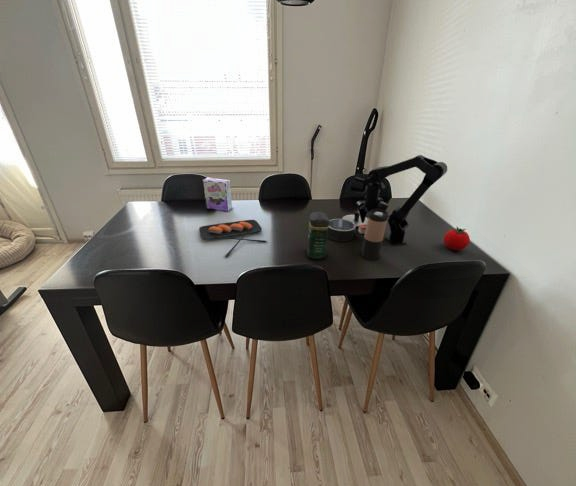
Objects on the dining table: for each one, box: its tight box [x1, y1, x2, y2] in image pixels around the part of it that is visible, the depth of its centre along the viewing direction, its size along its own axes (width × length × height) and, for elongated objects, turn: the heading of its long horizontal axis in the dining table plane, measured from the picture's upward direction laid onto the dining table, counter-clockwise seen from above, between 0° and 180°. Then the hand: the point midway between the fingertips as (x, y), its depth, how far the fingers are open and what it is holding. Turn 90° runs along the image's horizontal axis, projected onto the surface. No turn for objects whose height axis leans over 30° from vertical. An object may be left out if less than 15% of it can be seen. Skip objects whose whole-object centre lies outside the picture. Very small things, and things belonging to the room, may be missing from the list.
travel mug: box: [361, 209, 389, 260], centre depth 122 cm, size 8×8×20 cm
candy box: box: [202, 176, 233, 212], centre depth 163 cm, size 14×6×16 cm, turn 73°
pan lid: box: [341, 210, 368, 228], centre depth 155 cm, size 15×15×6 cm
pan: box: [327, 218, 357, 242], centre depth 142 cm, size 14×14×6 cm
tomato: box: [443, 226, 471, 251], centre depth 132 cm, size 10×10×10 cm
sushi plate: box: [198, 219, 267, 258], centre depth 136 cm, size 29×30×4 cm
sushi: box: [357, 224, 367, 235], centre depth 146 cm, size 7×4×3 cm, turn 102°
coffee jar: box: [306, 211, 330, 260], centre depth 122 cm, size 10×8×19 cm
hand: (366, 226), depth 145 cm, fingers open, 9 cm apart
